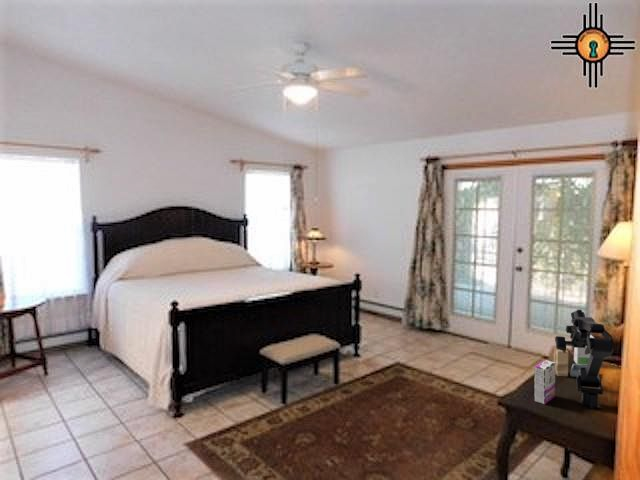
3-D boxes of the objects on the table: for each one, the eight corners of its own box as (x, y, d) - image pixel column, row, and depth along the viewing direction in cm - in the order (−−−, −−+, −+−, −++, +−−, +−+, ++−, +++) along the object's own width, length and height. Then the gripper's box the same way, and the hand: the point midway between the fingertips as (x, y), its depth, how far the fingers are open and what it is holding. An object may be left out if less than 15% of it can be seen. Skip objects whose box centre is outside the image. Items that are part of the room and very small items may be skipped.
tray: (594, 380, 211) (594, 375, 210) (570, 376, 217) (570, 370, 217) (596, 373, 219) (596, 367, 219) (572, 369, 225) (572, 363, 225)
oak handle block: (567, 376, 217) (568, 351, 216) (557, 375, 218) (557, 351, 217) (564, 372, 222) (564, 348, 221) (553, 372, 223) (554, 347, 221)
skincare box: (576, 364, 231) (577, 336, 229) (573, 360, 237) (573, 333, 235) (594, 366, 228) (595, 337, 227) (590, 361, 234) (591, 333, 233)
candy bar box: (544, 393, 200) (544, 359, 198) (555, 396, 196) (556, 362, 194) (533, 401, 193) (533, 366, 191) (544, 405, 189) (545, 369, 187)
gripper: (599, 322, 204) (592, 340, 214) (555, 320, 209) (551, 337, 220) (604, 342, 196) (597, 360, 207) (559, 339, 202) (554, 357, 212)
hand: (574, 353), depth 211 cm, fingers open, 9 cm apart
